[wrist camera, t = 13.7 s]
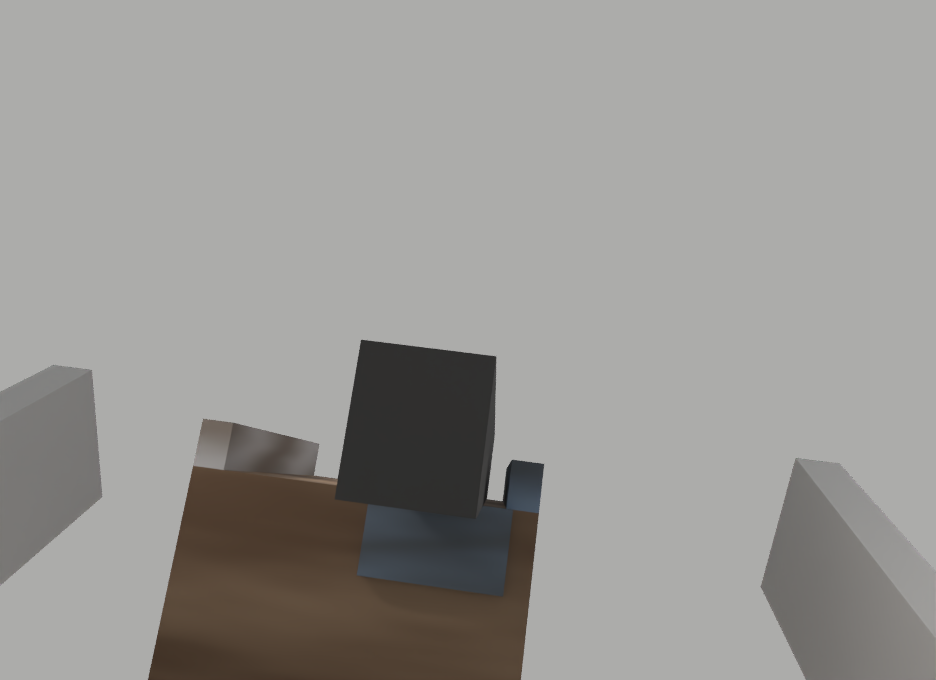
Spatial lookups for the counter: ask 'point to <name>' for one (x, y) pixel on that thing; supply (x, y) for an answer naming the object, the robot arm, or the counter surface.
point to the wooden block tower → (338, 575)
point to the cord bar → (419, 430)
